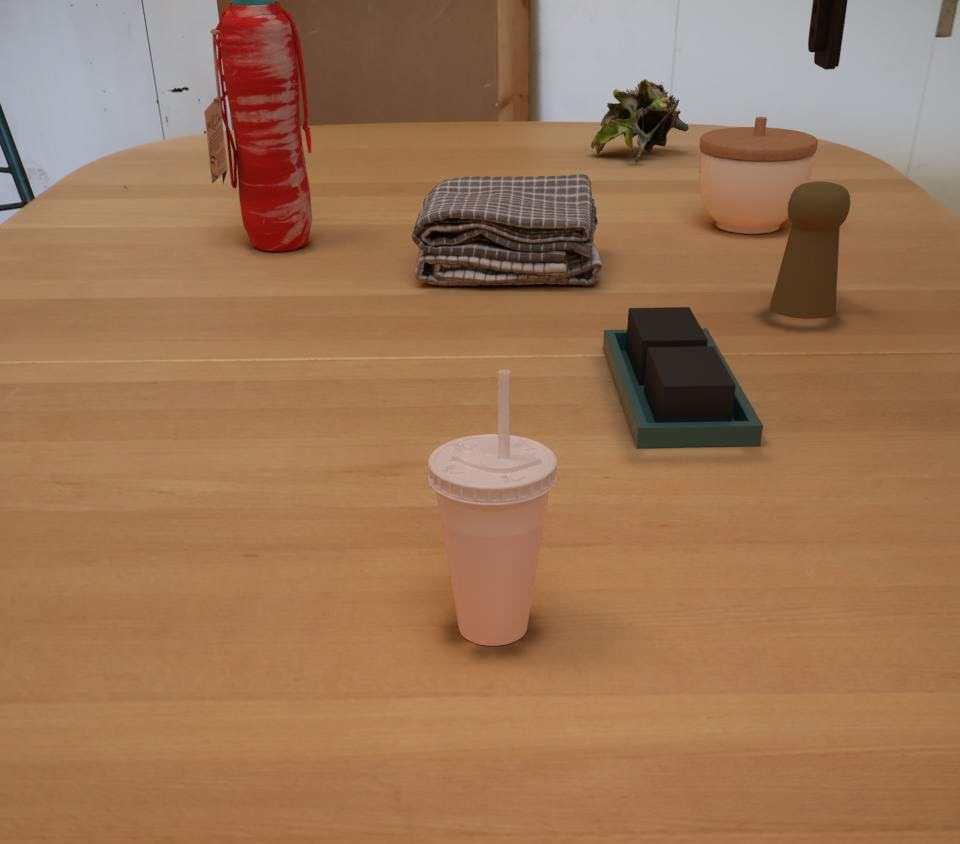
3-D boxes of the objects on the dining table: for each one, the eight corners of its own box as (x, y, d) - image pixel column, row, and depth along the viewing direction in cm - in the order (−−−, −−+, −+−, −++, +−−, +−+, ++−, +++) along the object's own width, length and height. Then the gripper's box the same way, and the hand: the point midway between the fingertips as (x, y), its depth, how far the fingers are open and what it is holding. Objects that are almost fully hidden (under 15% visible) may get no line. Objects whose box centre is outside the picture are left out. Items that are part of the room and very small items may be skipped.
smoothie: (544, 665, 58) (552, 400, 49) (422, 654, 58) (409, 392, 50) (559, 601, 63) (568, 351, 54) (446, 592, 63) (438, 344, 55)
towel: (427, 249, 121) (424, 169, 117) (597, 250, 120) (601, 170, 116) (412, 290, 109) (408, 204, 105) (601, 292, 108) (606, 205, 104)
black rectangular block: (643, 392, 86) (647, 346, 84) (708, 391, 86) (713, 345, 84) (659, 434, 80) (663, 386, 77) (729, 433, 80) (736, 384, 77)
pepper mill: (776, 301, 106) (795, 173, 99) (841, 309, 104) (865, 179, 97) (760, 319, 101) (778, 187, 95) (827, 328, 99) (851, 194, 93)
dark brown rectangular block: (625, 350, 93) (628, 307, 91) (685, 349, 94) (689, 306, 91) (638, 385, 87) (642, 340, 85) (703, 384, 87) (708, 339, 85)
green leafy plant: (643, 191, 166) (697, 116, 161) (640, 193, 156) (698, 113, 151) (583, 140, 164) (636, 63, 159) (577, 139, 155) (633, 57, 149)
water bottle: (202, 253, 121) (160, -25, 106) (227, 234, 127) (191, -31, 112) (310, 257, 119) (282, -25, 104) (330, 237, 126) (307, -31, 110)
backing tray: (602, 354, 94) (603, 329, 93) (704, 353, 95) (707, 327, 93) (635, 456, 78) (638, 427, 77) (759, 453, 78) (763, 425, 77)
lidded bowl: (732, 245, 121) (746, 132, 115) (670, 219, 131) (680, 113, 124) (827, 232, 125) (846, 122, 119) (760, 208, 135) (774, 104, 128)
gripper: (819, -322, 55) (776, 78, 65) (1175, -340, 55) (1075, 65, 65) (783, -304, 61) (749, 60, 71) (1104, -319, 61) (1023, 48, 71)
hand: (905, 62), depth 68 cm, fingers open, 9 cm apart
